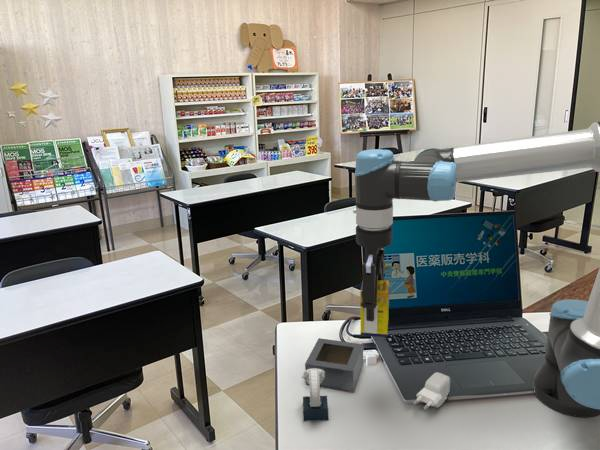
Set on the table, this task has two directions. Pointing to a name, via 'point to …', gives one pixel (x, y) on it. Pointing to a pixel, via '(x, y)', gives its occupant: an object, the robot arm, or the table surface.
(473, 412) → the table surface
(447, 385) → the power adapter
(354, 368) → the hollow block
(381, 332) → the supplement box
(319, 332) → the table surface
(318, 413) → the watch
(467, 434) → the table surface
